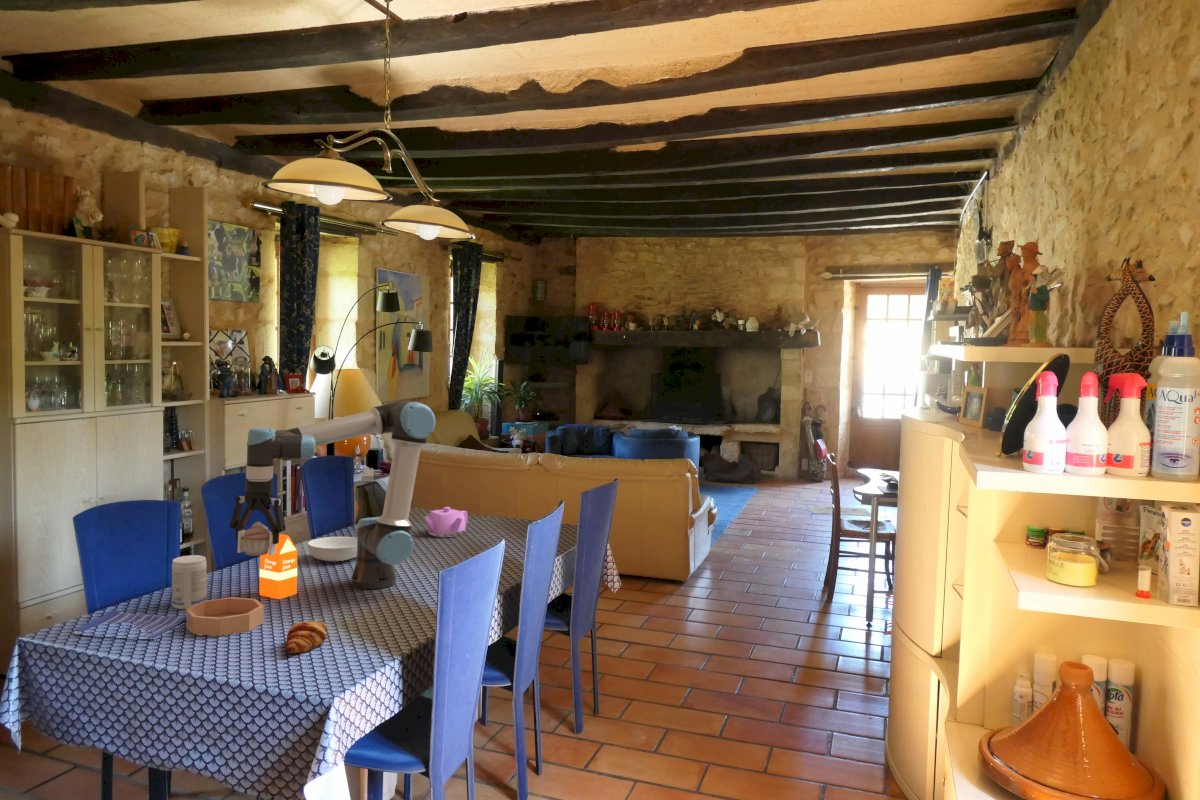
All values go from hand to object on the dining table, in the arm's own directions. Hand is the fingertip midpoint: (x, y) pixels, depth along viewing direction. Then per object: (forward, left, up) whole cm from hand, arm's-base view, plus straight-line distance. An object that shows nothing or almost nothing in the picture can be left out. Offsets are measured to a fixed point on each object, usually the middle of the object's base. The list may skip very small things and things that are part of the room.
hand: (256, 553), depth 246 cm
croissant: (-27, +22, -19) cm, 39 cm away
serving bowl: (+4, -66, -19) cm, 69 cm away
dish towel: (+26, +20, -19) cm, 38 cm away
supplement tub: (+23, -2, -19) cm, 30 cm away
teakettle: (-24, -118, -19) cm, 122 cm away
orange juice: (+3, -19, -19) cm, 27 cm away
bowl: (+3, +12, -18) cm, 22 cm away
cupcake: (0, 0, 0) cm, 0 cm away
